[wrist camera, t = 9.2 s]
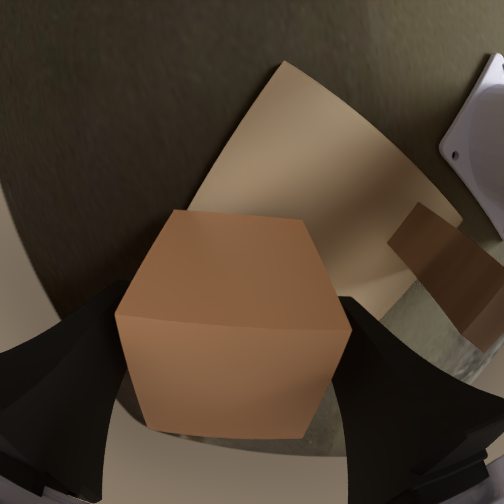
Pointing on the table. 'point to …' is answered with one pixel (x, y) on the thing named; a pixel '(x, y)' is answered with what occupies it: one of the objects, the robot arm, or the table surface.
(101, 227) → the table surface
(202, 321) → the tan rectangular block
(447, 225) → the post
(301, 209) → the board
